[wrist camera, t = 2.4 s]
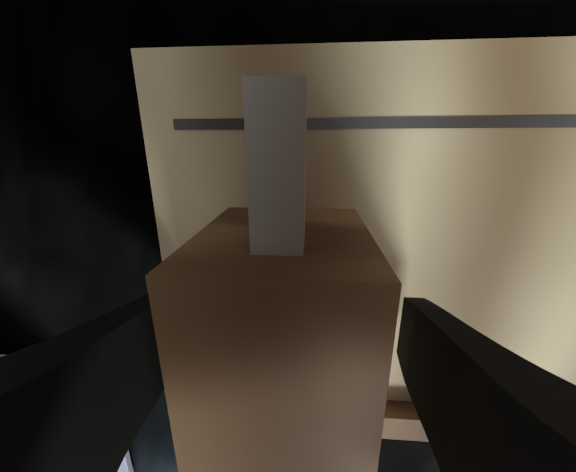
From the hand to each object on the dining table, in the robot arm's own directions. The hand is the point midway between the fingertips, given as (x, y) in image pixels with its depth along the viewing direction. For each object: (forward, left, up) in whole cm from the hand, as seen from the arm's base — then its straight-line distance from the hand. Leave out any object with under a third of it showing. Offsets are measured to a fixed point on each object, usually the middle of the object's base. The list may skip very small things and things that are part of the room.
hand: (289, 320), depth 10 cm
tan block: (0, +2, -1) cm, 2 cm away
